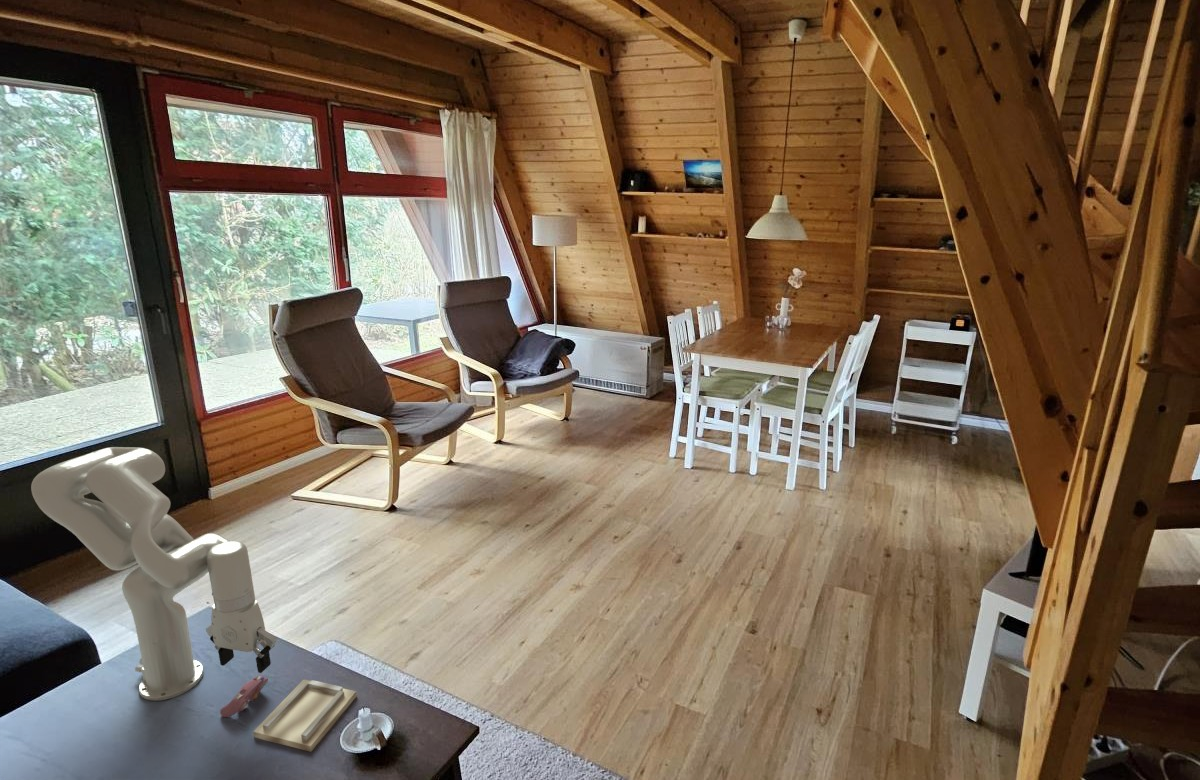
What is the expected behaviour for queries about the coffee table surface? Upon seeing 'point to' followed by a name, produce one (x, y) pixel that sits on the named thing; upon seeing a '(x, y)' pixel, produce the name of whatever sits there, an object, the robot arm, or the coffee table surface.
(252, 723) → the coffee table surface
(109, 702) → the coffee table surface
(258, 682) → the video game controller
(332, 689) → the dock
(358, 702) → the coffee table surface
